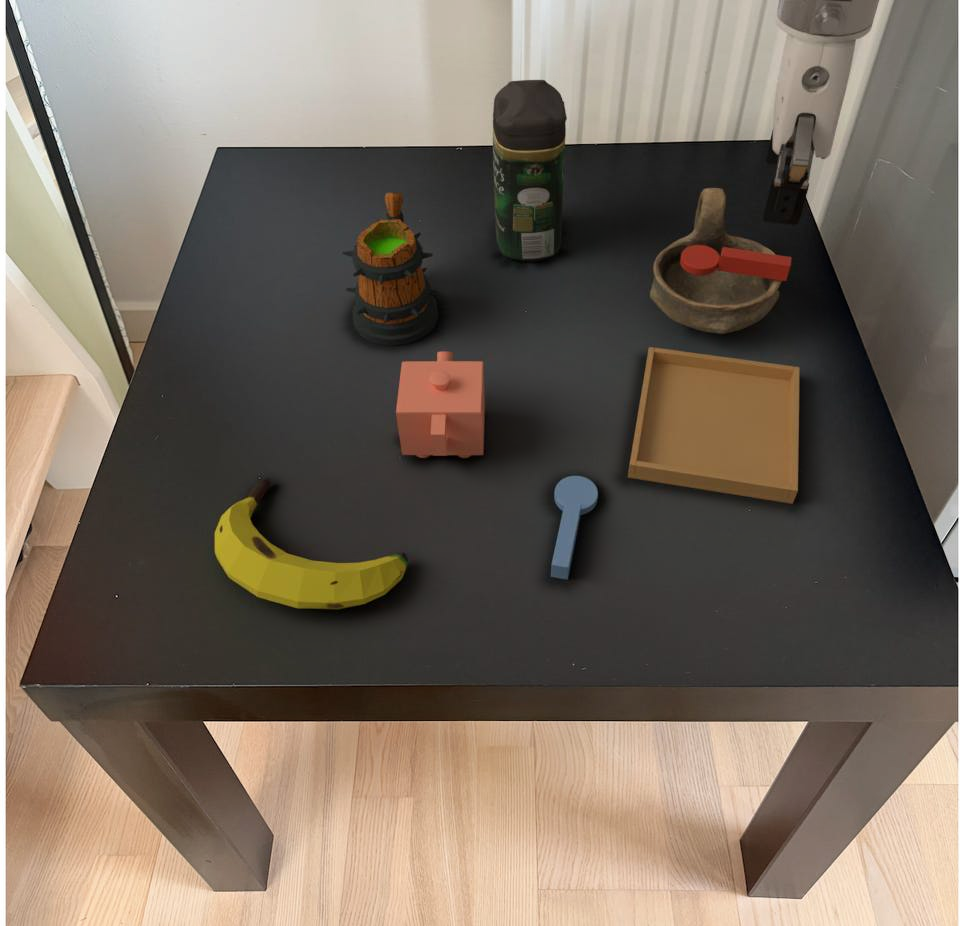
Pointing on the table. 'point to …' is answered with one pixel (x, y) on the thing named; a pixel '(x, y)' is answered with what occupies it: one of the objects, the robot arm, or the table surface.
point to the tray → (718, 425)
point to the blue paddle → (570, 519)
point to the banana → (296, 566)
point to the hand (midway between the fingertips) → (781, 191)
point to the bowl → (711, 277)
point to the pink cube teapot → (441, 407)
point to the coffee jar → (528, 169)
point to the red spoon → (734, 262)
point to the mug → (391, 281)
